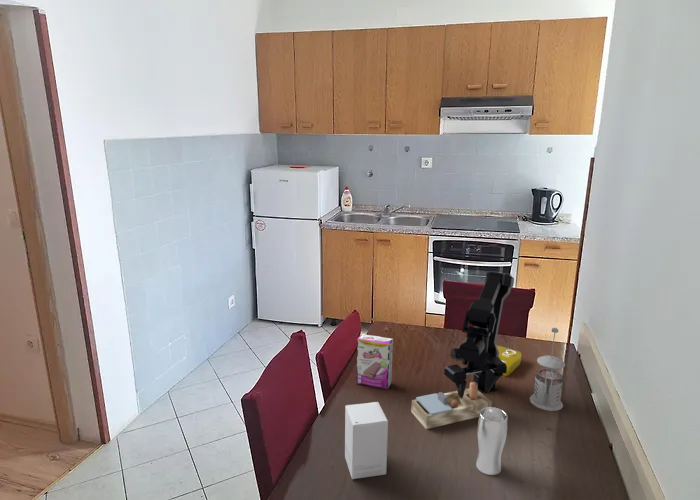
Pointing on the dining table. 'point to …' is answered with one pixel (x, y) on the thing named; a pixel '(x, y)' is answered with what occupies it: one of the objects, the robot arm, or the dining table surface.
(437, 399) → the lid
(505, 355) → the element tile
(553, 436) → the dining table surface
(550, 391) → the french press
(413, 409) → the wooden compartment tray
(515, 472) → the dining table surface
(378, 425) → the supplement box
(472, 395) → the peg
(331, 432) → the dining table surface
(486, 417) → the beer glass
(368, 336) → the candy bar box
